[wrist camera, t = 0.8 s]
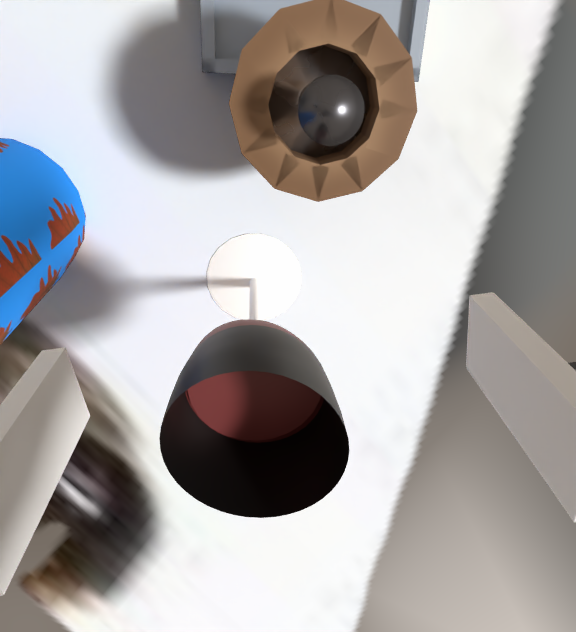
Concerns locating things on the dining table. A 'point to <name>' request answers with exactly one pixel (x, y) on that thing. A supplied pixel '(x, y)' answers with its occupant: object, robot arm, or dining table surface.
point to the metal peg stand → (319, 101)
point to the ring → (383, 89)
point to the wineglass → (254, 396)
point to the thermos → (33, 229)
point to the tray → (262, 3)
